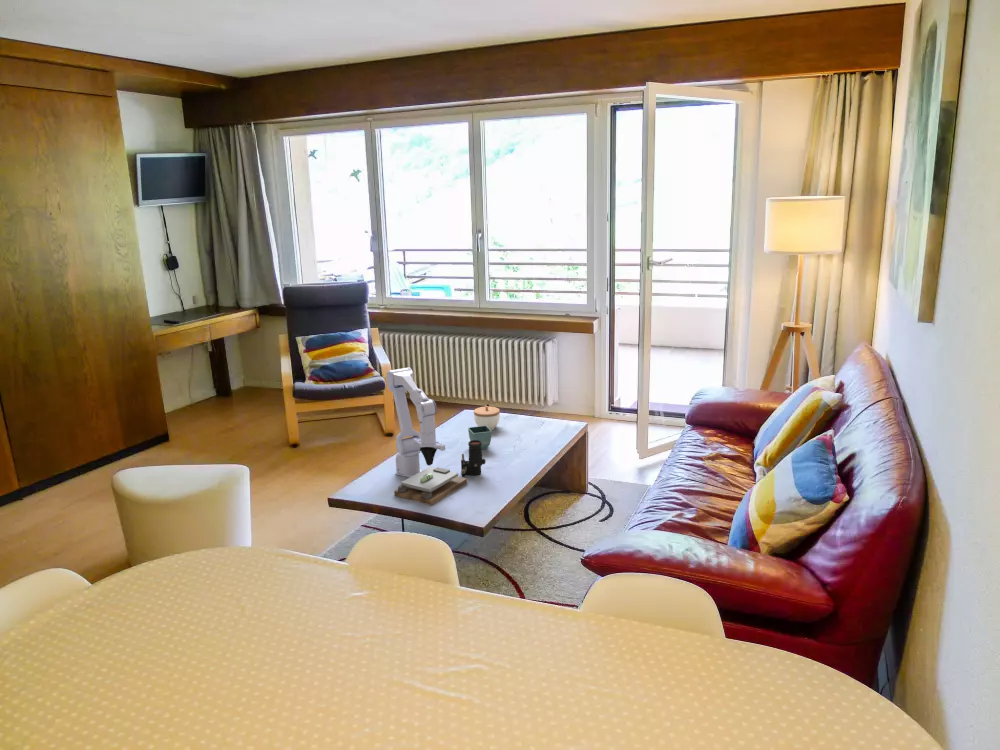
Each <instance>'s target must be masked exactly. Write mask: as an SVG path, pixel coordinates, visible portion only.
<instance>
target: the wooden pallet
mask: <svg viewBox="0 0 1000 750" xmlns="http://www.w3.org/2000/svg"><path fill="white" fill-rule="evenodd" d="M467 484H468V478H465V477H462V476H458V477H456V478H454V479H452V480H451V481H449V482H447V483H446V484H444V485H442V486H440V487H439V488H437V489H435V490H434V491H432V492H426V491H422V490H418V489H415V488H411V487H407V486H403V485H401V484H399V485H397V489H395V490H394V491H393V492H394V496H395V497H399V498H403V499H406V500H409V501H412V502H413V501H414V502H417V503H422V504H425V505H429V506H433V505H435V504H437V503H438V502H440V501H441V500H444V498H447V496H450V495H451V494H452V493H454V492H455V491H457V490H459V489H460V488H463V486H465V485H467Z"/></svg>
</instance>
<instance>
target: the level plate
mask: <svg viewBox="0 0 1000 750" xmlns="http://www.w3.org/2000/svg"><path fill="white" fill-rule="evenodd" d="M422 470H423V471H421V472H419V473H417V474H416V475H414V476H412V477H410V478H409V477H407V478H406V479H405V480H402V481H401V482H400V485H403V486H407V487H411V488H415V489H418V490H422V491H426V492H432V491H434V490H435V489H437V488H439V487H440V486H442V485H444V484H446V483H447V482H449V481H451V480H452V479H454V478H456V477H459V473H458V472H454V471H451V470H450V469H448V468H443V467H439V466H438V467H433V466H429V467H427V468H425V469H422Z"/></svg>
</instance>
